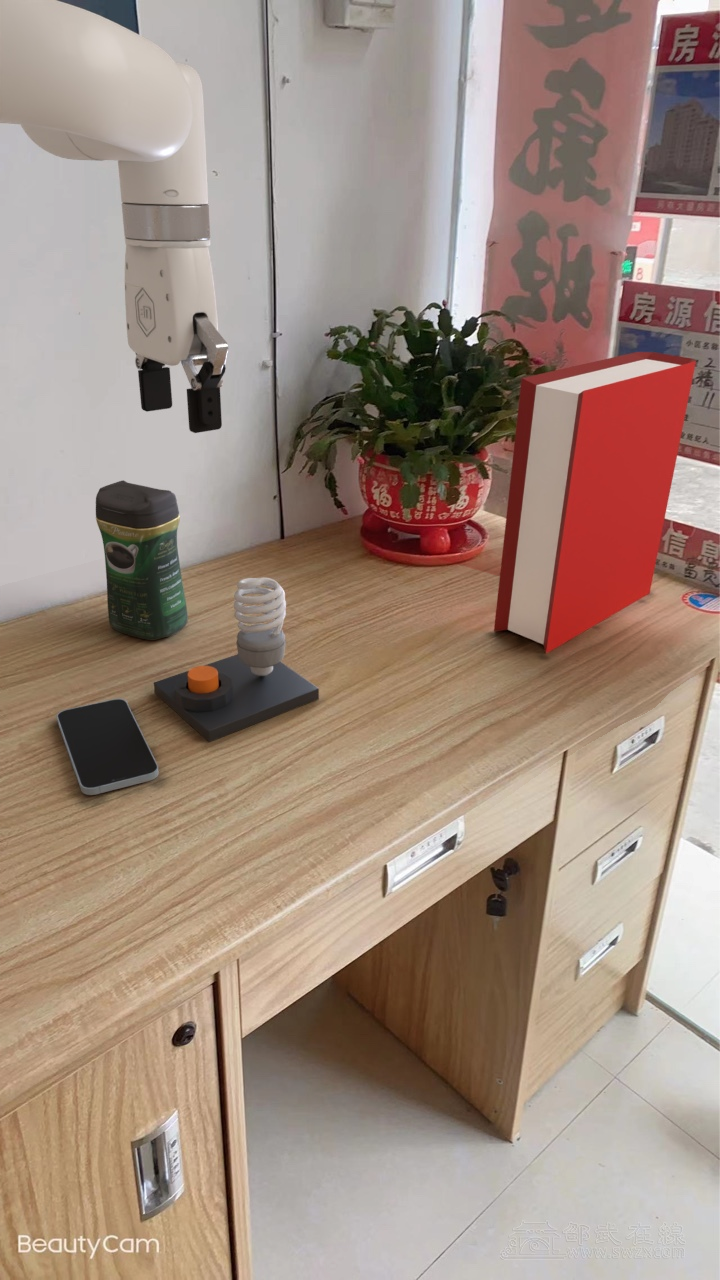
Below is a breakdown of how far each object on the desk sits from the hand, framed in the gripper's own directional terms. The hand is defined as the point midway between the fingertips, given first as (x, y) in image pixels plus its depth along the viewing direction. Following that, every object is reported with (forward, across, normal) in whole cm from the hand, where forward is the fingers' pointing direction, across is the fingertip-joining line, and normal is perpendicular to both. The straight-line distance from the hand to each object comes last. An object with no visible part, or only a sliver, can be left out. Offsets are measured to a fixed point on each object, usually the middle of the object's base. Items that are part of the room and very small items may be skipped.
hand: (180, 419), depth 86 cm
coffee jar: (+30, -16, +2) cm, 34 cm away
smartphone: (+30, +6, -14) cm, 34 cm away
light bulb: (+29, +5, +5) cm, 30 cm away
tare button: (+28, +5, -2) cm, 28 cm away
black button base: (+30, +5, +2) cm, 31 cm away
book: (+30, +13, +51) cm, 61 cm away
